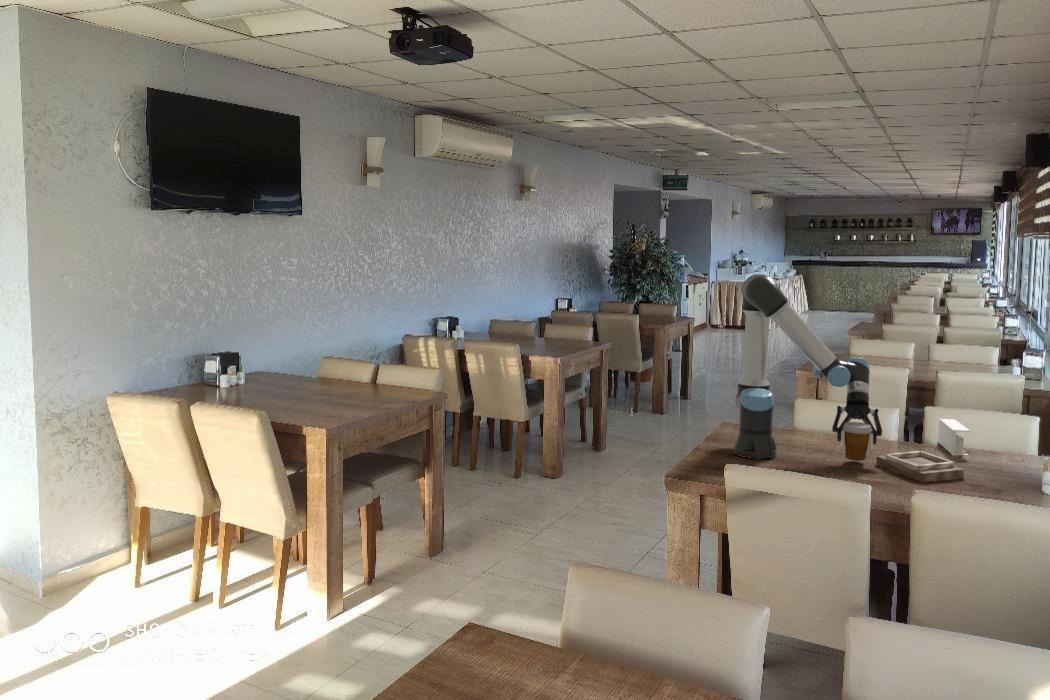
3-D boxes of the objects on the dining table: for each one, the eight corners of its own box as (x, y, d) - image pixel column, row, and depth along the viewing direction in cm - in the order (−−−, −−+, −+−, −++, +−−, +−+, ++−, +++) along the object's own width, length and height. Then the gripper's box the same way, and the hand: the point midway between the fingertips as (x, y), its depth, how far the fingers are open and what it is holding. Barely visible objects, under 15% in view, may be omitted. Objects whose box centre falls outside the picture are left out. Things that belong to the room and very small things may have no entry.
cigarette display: (968, 456, 296) (970, 430, 295) (951, 455, 297) (953, 430, 296) (952, 442, 316) (954, 418, 314) (936, 441, 317) (938, 418, 315)
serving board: (922, 482, 265) (923, 469, 264) (876, 464, 286) (877, 451, 285) (963, 478, 269) (964, 465, 269) (914, 460, 290) (915, 448, 290)
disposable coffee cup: (835, 457, 289) (837, 424, 288) (850, 453, 295) (852, 420, 293) (860, 463, 282) (862, 429, 280) (875, 459, 287) (878, 425, 286)
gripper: (826, 388, 298) (823, 441, 285) (891, 392, 291) (891, 447, 278) (825, 399, 304) (822, 452, 291) (889, 404, 297) (889, 458, 284)
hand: (856, 449), depth 285 cm, fingers closed on disposable coffee cup, 9 cm apart
